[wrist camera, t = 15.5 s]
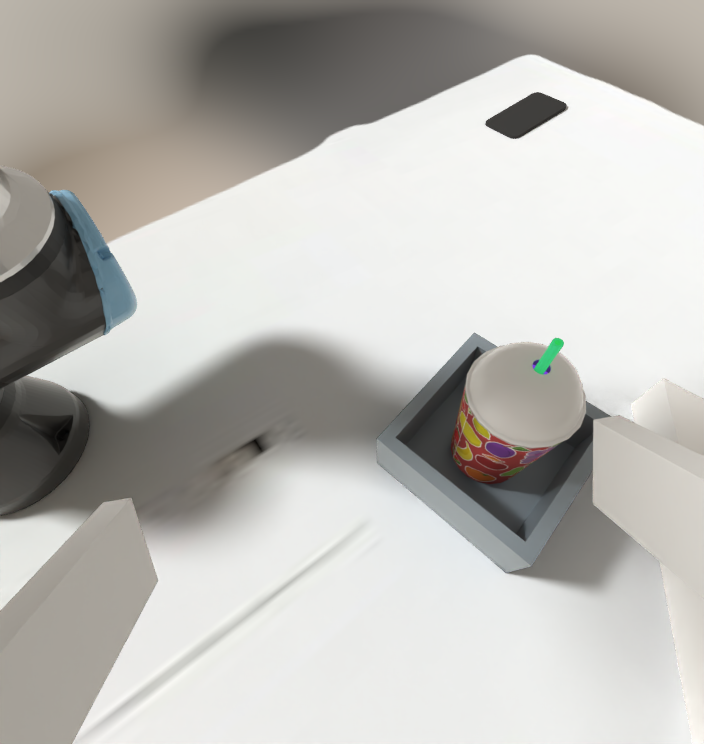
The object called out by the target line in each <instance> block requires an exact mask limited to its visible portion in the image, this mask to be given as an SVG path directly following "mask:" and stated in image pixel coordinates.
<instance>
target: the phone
mask: <svg viewBox="0 0 704 744" xmlns="http://www.w3.org/2000/svg"><path fill="white" fill-rule="evenodd" d="M565 108H566V104H565V103H564V102H562V101H559V100H557V99H554V98H552V97H550V96H547V95H545V94H542V93H539V92H536V93H533V94H531V95H529V96H528V97H526V98H524V99H522V100H521V101H519V102H517V103H516V104H514V105H512V106H510V107H509V108H507V109H505V110H504V111H502V112H500V113H498V114H497V115H495V116H493V117H492V118H490V119H488V120H487V121H486V126H487V127H489V128H491V129H493V130H495V131H497V132H499V133H501V134H503V135H505V136H507V137H509V138H513V139H516V138H519V137H521V136H523V135H524V134H526V133H527V132H529V131H531V130H532V129H534V128H536V127H537V126H539V125H541V124H542V123H544V122H546V121H547V120H549V119H551V118H552V117H554V116H556V115H557V114H559V113H561V112H562V111H564V110H565Z"/></svg>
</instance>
